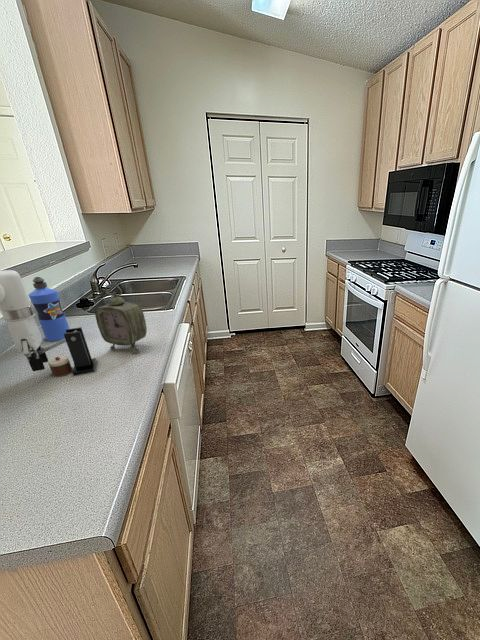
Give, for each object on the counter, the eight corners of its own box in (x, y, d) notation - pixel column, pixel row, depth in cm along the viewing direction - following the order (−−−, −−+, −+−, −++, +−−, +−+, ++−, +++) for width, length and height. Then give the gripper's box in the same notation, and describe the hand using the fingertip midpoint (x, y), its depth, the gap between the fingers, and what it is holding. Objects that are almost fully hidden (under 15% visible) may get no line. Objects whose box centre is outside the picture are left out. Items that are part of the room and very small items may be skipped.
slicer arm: (33, 362, 104) (27, 356, 103) (36, 356, 108) (31, 350, 107) (80, 339, 107) (75, 333, 106) (81, 334, 111) (77, 328, 110)
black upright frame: (73, 375, 109) (59, 336, 103) (77, 364, 116) (64, 327, 110) (94, 371, 111) (81, 333, 105) (96, 361, 119) (84, 324, 112)
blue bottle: (76, 334, 141) (56, 276, 130) (53, 342, 134) (30, 281, 123) (63, 331, 145) (43, 274, 134) (41, 338, 138) (17, 278, 127)
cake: (51, 377, 108) (45, 362, 105) (54, 370, 113) (48, 355, 110) (71, 374, 110) (65, 358, 108) (73, 367, 115) (68, 352, 112)
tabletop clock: (105, 351, 126) (85, 286, 115) (122, 342, 134) (105, 280, 123) (137, 355, 122) (120, 288, 111) (153, 345, 130) (138, 282, 119)
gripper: (11, 307, 105) (33, 358, 113) (-7, 324, 91) (20, 380, 100) (39, 303, 108) (58, 353, 116) (26, 319, 94) (49, 375, 102)
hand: (40, 365), depth 108 cm, fingers closed on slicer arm, 5 cm apart
